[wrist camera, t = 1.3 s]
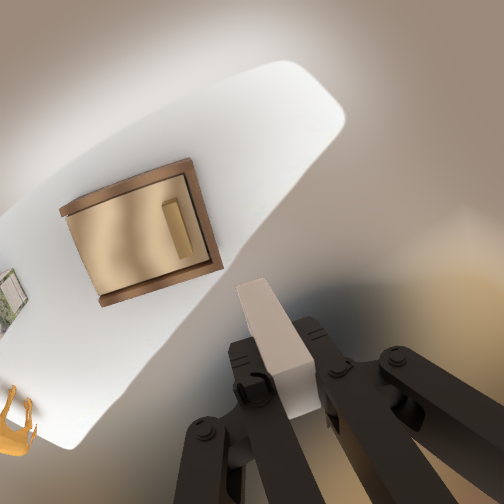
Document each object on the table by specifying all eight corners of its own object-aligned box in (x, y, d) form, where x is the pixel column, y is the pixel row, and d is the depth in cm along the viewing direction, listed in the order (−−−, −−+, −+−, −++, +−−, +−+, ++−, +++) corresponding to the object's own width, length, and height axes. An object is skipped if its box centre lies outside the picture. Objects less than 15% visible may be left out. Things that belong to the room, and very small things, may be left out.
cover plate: (182, 173, 33) (183, 177, 29) (208, 257, 37) (212, 268, 33) (67, 216, 31) (56, 224, 27) (99, 292, 35) (93, 306, 31)
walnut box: (189, 157, 36) (191, 159, 31) (217, 251, 41) (223, 268, 36) (74, 199, 34) (58, 209, 29) (109, 286, 39) (101, 307, 34)
